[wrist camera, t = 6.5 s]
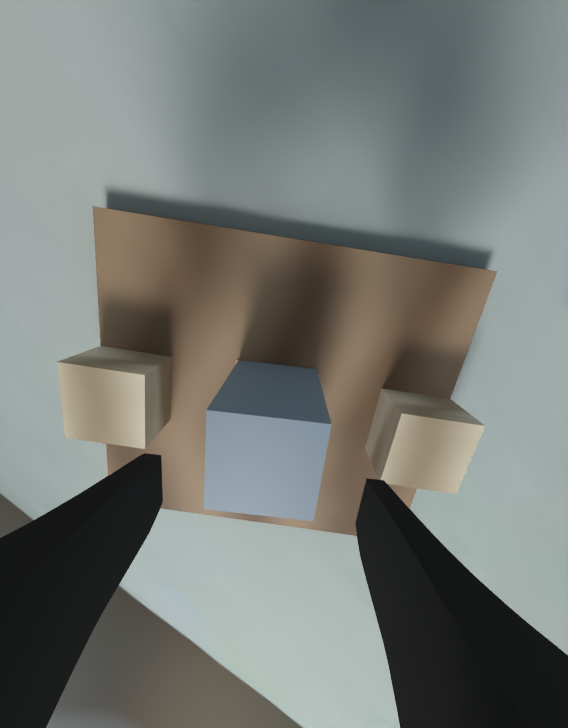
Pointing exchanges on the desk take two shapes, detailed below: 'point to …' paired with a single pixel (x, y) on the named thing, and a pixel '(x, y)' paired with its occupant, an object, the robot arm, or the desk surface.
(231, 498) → the slate block
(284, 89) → the desk surface
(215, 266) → the wooden board
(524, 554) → the desk surface
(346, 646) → the desk surface
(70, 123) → the desk surface
